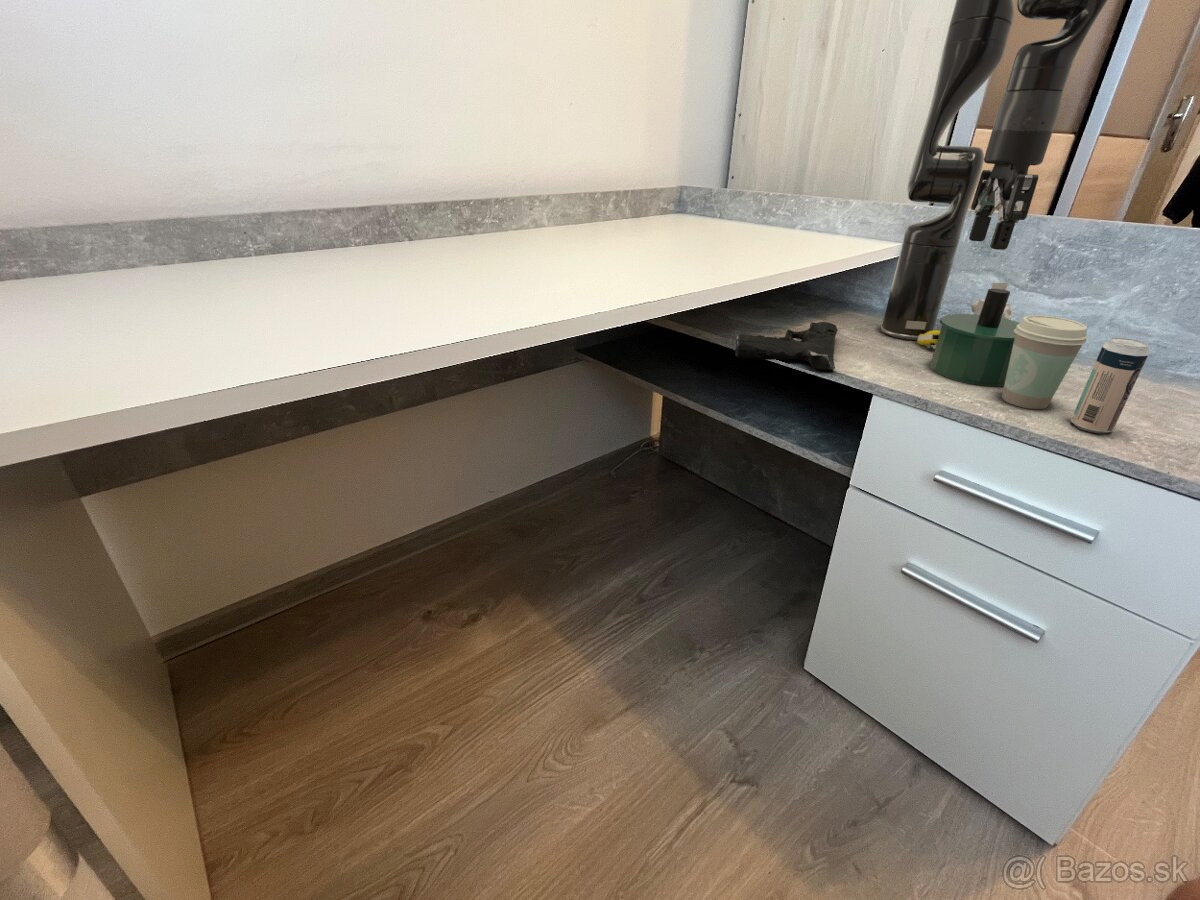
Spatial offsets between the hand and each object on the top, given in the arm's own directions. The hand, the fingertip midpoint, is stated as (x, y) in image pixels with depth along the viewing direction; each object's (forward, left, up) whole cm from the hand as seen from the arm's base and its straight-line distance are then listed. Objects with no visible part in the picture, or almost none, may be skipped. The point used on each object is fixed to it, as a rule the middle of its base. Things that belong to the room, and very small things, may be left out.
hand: (986, 244), depth 94 cm
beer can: (+24, +10, -20) cm, 33 cm away
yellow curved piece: (-8, +2, -20) cm, 22 cm away
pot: (+4, +2, -20) cm, 20 cm away
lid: (+4, +2, -12) cm, 13 cm away
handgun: (0, -19, -18) cm, 26 cm away
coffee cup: (+16, +5, -20) cm, 26 cm away
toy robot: (-12, +9, -20) cm, 25 cm away
